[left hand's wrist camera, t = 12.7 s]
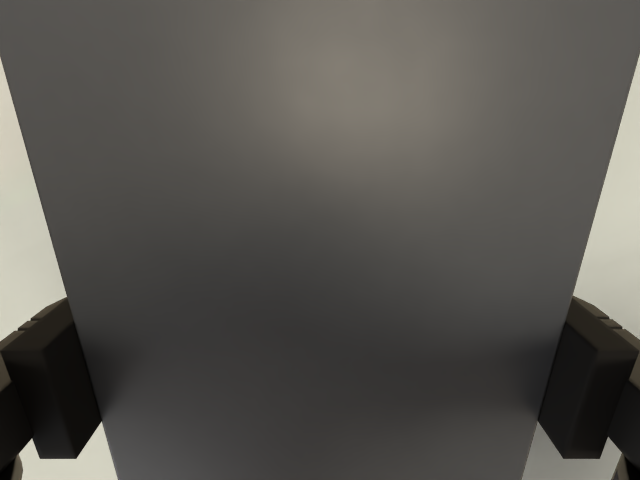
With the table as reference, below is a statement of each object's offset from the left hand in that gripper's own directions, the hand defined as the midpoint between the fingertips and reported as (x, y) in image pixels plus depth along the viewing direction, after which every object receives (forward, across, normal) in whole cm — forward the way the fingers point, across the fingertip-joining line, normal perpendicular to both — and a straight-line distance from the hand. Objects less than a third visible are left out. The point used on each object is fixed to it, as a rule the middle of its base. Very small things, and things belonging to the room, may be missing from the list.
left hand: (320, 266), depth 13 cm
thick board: (+1, 0, -32) cm, 32 cm away
